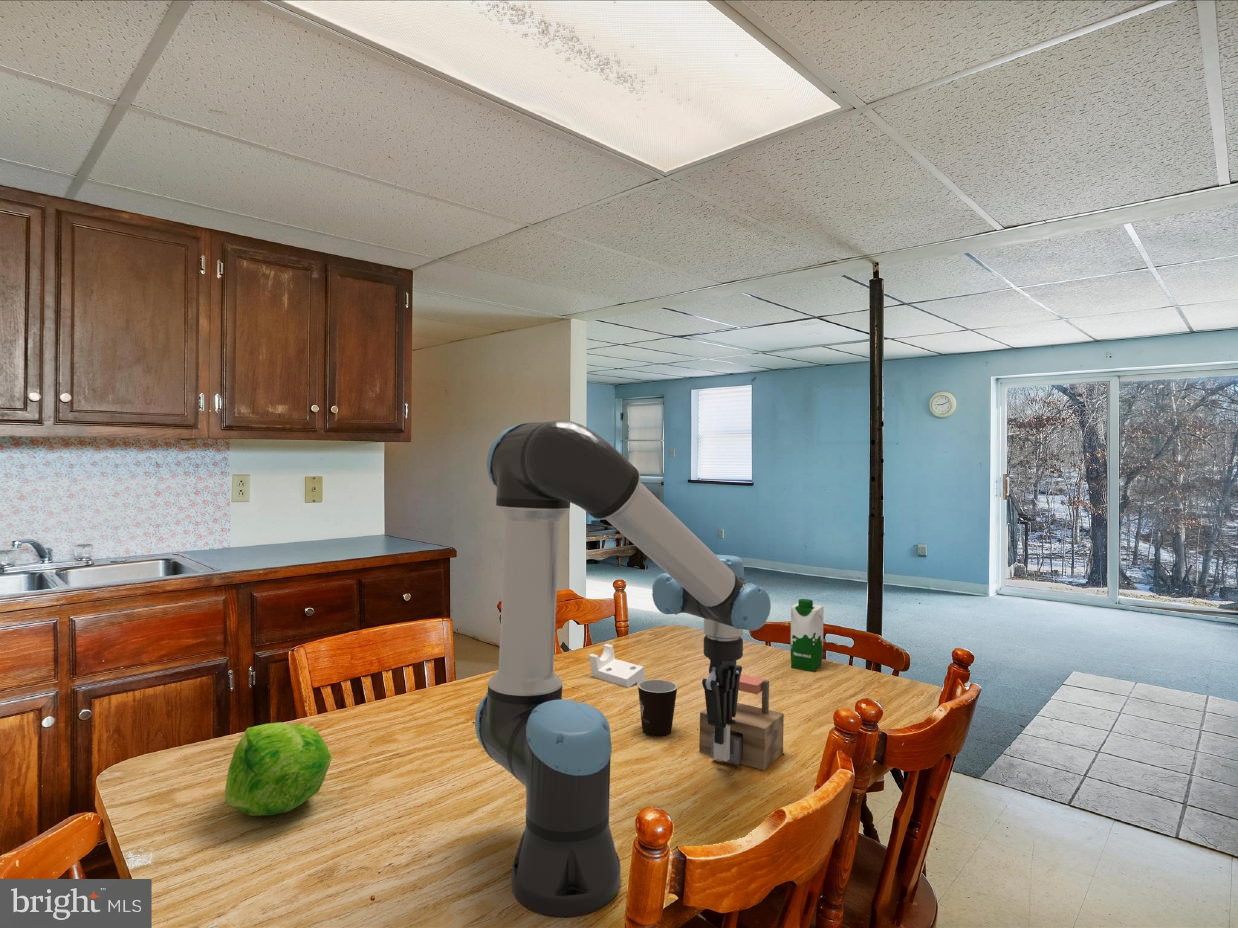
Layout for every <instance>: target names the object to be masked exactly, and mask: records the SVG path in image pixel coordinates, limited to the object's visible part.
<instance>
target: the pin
mask: <svg viewBox="0 0 1238 928" xmlns="http://www.w3.org/2000/svg"><path fill="white" fill-rule="evenodd" d="M742 746H743V734H742V733H739V732H733V733H732V734H731V735H730V759H729V760H728V761H723V760H719V759H716V758H714V732H712V733H711V755H710V758H712V759H715V760H719V761H723V762H725V763H729V764H733V765H736V766H738V767H740V765H743V764H742Z"/></svg>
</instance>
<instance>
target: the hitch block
mask: <svg viewBox="0 0 1238 928" xmlns="http://www.w3.org/2000/svg"><path fill="white" fill-rule="evenodd" d="M769 700H770V680H768V679H767V680H764V681H762V691H761V707H758V706H755V705H754V706H753V705H749V704H745V703H742V702H741V703H740V702H737V709H736V716H735V717H732V720H736V721H735V724H734V725H733V724H730V735H731V734H732V733H733V732H739V733H742V734H743V746H742V764H741V765H744V766H747V767H751V768H753V769H754V768H755V769H757V770H760V771H761V770H762V771H765V770H766V769H767V768H768V767H770V765H772V763H773V762H775V761H776V760H777V759H778V758H779V757H780V756H781V755H782V754H783V753H784V720H785V719H784V715H785V713H783V712H779V711H774V710H769V709H770V708H769V707H770V706H769V703H770V702H769ZM712 732H714V726H712V725H709V724H708V719H707V709H706V708H705V709H703V710H702V711H700V712H699V743H698V744H699V748H698V749H699V752H700V753H702V754H705V755H708V756H709V755H710V756H711V733H712Z"/></svg>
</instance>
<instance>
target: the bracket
mask: <svg viewBox="0 0 1238 928" xmlns="http://www.w3.org/2000/svg"><path fill="white" fill-rule="evenodd" d="M615 656H616V655H615V649H614V645H611V644H608V643H605V644H604V645H603V652H602V654H601V656H600V657H599V655H597V654H594V653H590V654H589V655H588V657H589V658H588V659H589V663H590V668H591V674H592V677H593V678H596V679H599V680H602V681H606V682H608V683H612V684H615V685H618V686H622V687H625V688H628V689H629V688H631V687H632V686H633V685H638V684H639V683H640V682H642V681H645V680H647V679H646V672H645V667H644V666H643V665H639V664H635V663H631V662H627V661H624V660H620V659H616V657H615Z"/></svg>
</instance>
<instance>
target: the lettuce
mask: <svg viewBox="0 0 1238 928" xmlns="http://www.w3.org/2000/svg"><path fill="white" fill-rule="evenodd" d="M332 759H333V756H332V754H331V751H330V749H329V746H328V745H327V743H326V742H325V740H324V739H323V738H322V736H321V735H320V733H319V731H318V730H317V729H314V728H312V727H309V726H306V725H304V724H297V723H286V722H281V721H279V722H272V723H271V722H270V723H263V724H260V725H255V726H251V727H246V730H245V731H244V734H242V736H241V738H240V740H239V741H238V743H237V745H236V746H235V749H234V752H233V754H232V758H231V761H230V763H229V766H228V769H227V777H226V782H225V791H224V792H225V793H224V795H225V796H224V803H225V804H227V806H230V807H231V808H234V809H235V810H237V811H239V812H241V813H242V814H246V815H248V816H250V817H251V816H274V815H279V814H286V813H290V812H291V811H292V810H294V809H296V808H298V807H299V806H300V805H303V804H304V802H306V801H307V800H309V799H310V798H312V797H314V795H317V793H319V791H320V789H321V787H322V786H323V783H324V781H325V778H326V776H327V773H328V770H329V767H330V765H331V762H332Z"/></svg>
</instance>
